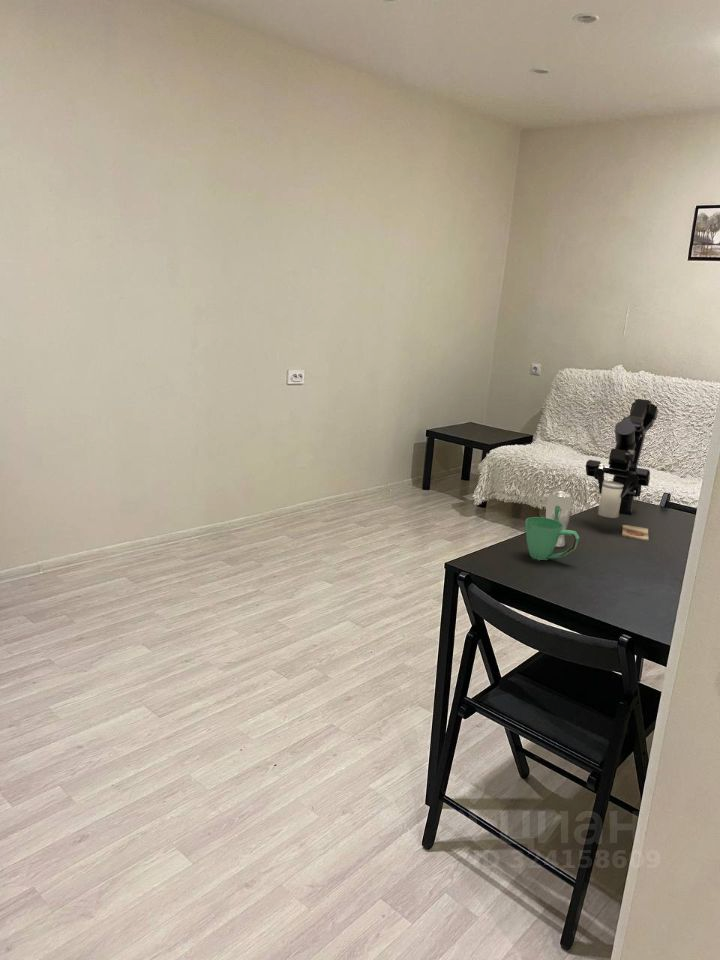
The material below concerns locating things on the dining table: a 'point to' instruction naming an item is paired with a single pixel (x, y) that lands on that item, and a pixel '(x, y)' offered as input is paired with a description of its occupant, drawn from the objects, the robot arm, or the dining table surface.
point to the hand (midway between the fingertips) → (610, 495)
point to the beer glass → (559, 510)
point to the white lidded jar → (610, 499)
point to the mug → (546, 537)
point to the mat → (635, 532)
